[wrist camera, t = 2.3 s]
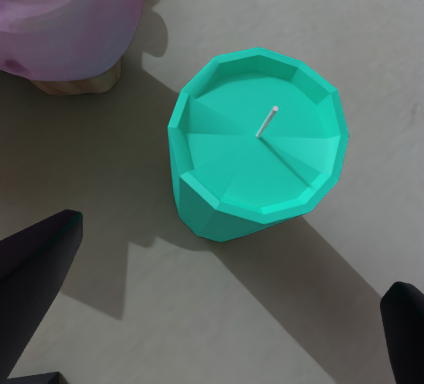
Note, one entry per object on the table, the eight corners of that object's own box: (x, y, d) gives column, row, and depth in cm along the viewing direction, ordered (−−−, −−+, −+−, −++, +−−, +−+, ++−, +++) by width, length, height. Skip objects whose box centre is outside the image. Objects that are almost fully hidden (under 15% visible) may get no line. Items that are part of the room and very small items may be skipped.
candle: (236, 135, 21) (305, -15, 10) (283, 212, 21) (420, 151, 9) (156, 176, 20) (125, 63, 9) (203, 260, 19) (238, 261, 8)
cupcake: (31, 2, 22) (-90, -207, 12) (159, 20, 22) (144, -164, 13) (3, 124, 20) (-167, -7, 10) (144, 138, 21) (113, 29, 11)
